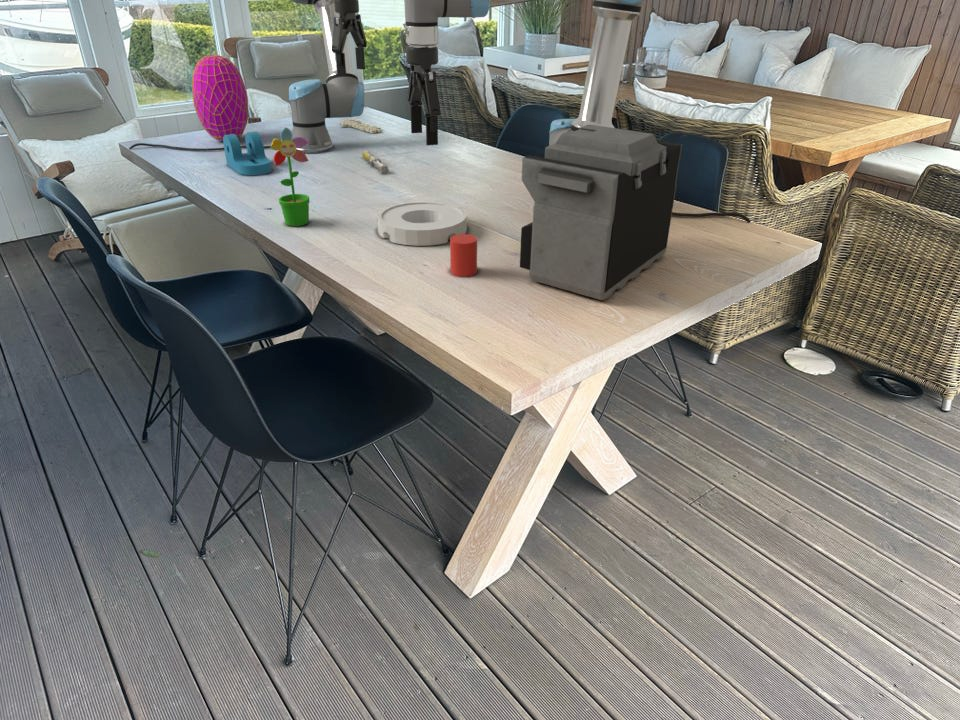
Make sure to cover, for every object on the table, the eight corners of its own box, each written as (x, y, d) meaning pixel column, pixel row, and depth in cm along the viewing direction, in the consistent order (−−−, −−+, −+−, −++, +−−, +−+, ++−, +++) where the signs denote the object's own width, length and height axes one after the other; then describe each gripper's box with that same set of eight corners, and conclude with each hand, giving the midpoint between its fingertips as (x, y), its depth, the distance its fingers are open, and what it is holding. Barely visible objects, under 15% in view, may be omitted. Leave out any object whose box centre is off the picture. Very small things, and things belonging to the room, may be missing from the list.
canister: (456, 264, 160) (455, 232, 156) (480, 268, 158) (480, 236, 154) (446, 274, 155) (446, 241, 151) (471, 278, 153) (472, 245, 149)
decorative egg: (239, 132, 274) (226, 50, 259) (262, 141, 262) (250, 56, 247) (192, 139, 263) (176, 54, 248) (214, 149, 251) (198, 60, 236)
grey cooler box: (589, 234, 178) (601, 114, 162) (670, 254, 167) (691, 126, 151) (511, 281, 152) (516, 142, 137) (601, 307, 141) (617, 160, 126)
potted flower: (284, 229, 179) (270, 130, 166) (277, 220, 185) (263, 124, 172) (319, 224, 183) (308, 127, 170) (311, 215, 188) (300, 121, 176)
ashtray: (385, 214, 190) (384, 200, 188) (468, 216, 189) (468, 202, 187) (371, 244, 170) (369, 229, 168) (464, 246, 170) (464, 231, 167)
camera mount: (227, 164, 233) (221, 132, 227) (257, 160, 238) (252, 129, 233) (244, 176, 220) (239, 143, 215) (276, 172, 225) (271, 139, 220)
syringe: (360, 156, 244) (360, 148, 243) (371, 155, 246) (370, 147, 244) (377, 174, 224) (377, 166, 223) (389, 173, 226) (388, 165, 224)
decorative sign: (331, 121, 290) (351, 118, 296) (331, 123, 291) (352, 120, 296) (366, 132, 273) (387, 128, 279) (366, 134, 274) (387, 131, 280)
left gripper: (337, 1, 201) (344, 78, 212) (374, -4, 221) (378, 67, 232) (315, 0, 203) (322, 77, 214) (353, -5, 223) (358, 65, 234)
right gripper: (393, 40, 170) (397, 129, 180) (421, 52, 150) (423, 151, 160) (422, 39, 172) (424, 127, 183) (454, 51, 152) (454, 149, 163)
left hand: (351, 72), depth 223 cm, fingers open, 13 cm apart
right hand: (424, 138), depth 172 cm, fingers open, 13 cm apart
